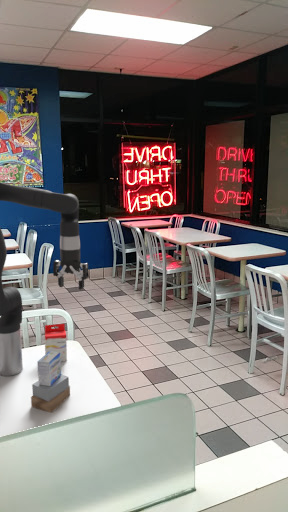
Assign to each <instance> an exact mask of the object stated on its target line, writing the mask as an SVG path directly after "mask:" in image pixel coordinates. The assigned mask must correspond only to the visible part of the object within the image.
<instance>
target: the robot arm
mask: <svg viewBox="0 0 288 512" xmlns="http://www.w3.org/2000/svg"><path fill="white" fill-rule="evenodd" d="M0 201H2V202H8V203H9V202H10V203H13V204H18V205H21V206H26V207H30V208H36V209H43V210H49V211H52V212H57V213H59V214H60V222H59V224H60V225H59V255H60V257H59V258H60V260H59V259H56V260H54V261H53V262H52V263H53V264H52V266H53V270H52V271H53V273H52V275H53V277H56V278H57V284H58V286H59V288H63V287H64V286H65V283H64V282H65V281H64V278H65V277H64V275H65V274H71V275H75V277H77V279H78V290H79V291H82V290H83V289H84V288H85V280H87V279H89V277H90V273H89V263H88V262H86V263H82V262H81V240H80V223H79V213H80V203H79V202H80V201H79V197H77V196H76V195H75V194H73V193H58V192H52V191H51V190H47V189H43V188H37V187H29V186H21V185H13V184H9V183H5V182H1V181H0ZM7 254H8V253H7V246H6V241H5V237H4V233H3V231H2V229H1V227H0V375H1V376H5V377H7V376H8V377H9V376H10V377H11V376H15V375H17V374H19V373H21V372H22V371H23V369H24V368H23V367H24V366H23V349H22V333H21V332H22V331H21V324H22V321H23V300H22V294H21V293H20V291H19V290H18V289H17V288H16V287H15V286H7V287H3V286H4V285H3V279H2V278H3V271H4V267H5V264H6V260H7V256H8V255H7ZM60 267H61V269H60Z"/></svg>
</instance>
